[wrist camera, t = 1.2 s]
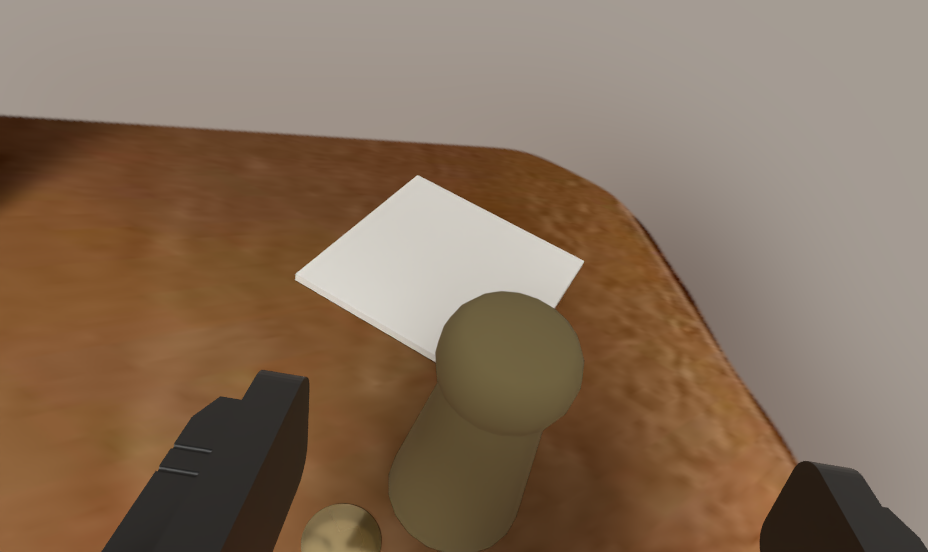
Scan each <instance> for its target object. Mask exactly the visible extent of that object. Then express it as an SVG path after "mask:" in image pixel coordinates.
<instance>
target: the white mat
mask: <svg viewBox="0 0 928 552" xmlns="http://www.w3.org/2000/svg"><path fill="white" fill-rule="evenodd" d="M583 263H584V261H583V260H581V259H579V258H577V257H575V256H573V255H571V254H569V253H568V252H566V251H564V250H562V249H560V248H558V247H556V246H554V245H552V244H550V243H548V242H546V241H544V240H542V239H540V238H538V237H536V236H535V235H533V234H531V233H529V232H527V231H525V230H523V229H521V228H519V227H517V226H515V225H513V224H511V223H509V222H507V221H505V220H504V219H502V218H500V217H498V216H496V215H494V214H492V213H490V212H488V211H486V210H484V209H482V208H480V207H478V206H476V205H474V204H473V203H471V202H469V201H467V200H465V199H463V198H461V197H459V196H457V195H455V194H453V193H451V192H449V191H447V190H445V189H443V188H442V187H440V186H438V185H436V184H434V183H432V182H430V181H428V180H426V179H424V178H422V177H420V176H418V175H417V176H416V177H415V178H413V179H412V180H411V181H410V182H408V183H407V184H406V185H405V186H404V187H402V188H401V189H400V190H399V191H397V192H396V193H395V194H394V195H392V196H391V197H390V198H389V199H387V200H386V201H385V202H384V203H383V204H381V205H380V206H379V207H378V208H376V209H375V210H374V211H373V212H371V213H370V214H369V215H368V216H366V217H365V218H364V219H363V220H362V221H360V222H359V223H358V224H357V225H355V226H354V227H353V228H352V229H350V230H349V231H348V232H347V233H345V234H344V235H343V236H342V237H341V238H339V239H338V240H337V241H336V242H334V243H333V244H332V245H331V246H329V247H328V248H327V249H326V250H324V251H323V252H322V253H321V254H320V255H318V256H317V257H316V258H315V259H313V260H312V261H311V262H310V263H308V264H307V265H306V266H305V267H303V268H302V269H301V270H300V271H299V272H297V273H296V279H295V280H296V281H298V282H300V283H301V284H303V285H305V286H306V287H308V288H310V289H312V290H313V291H315V292H317V293H318V294H320V295H322V296H323V297H325V298H327V299H329V300H330V301H332V302H334V303H335V304H337V305H339V306H340V307H342V308H344V309H346V310H347V311H349V312H351V313H352V314H354V315H356V316H357V317H359V318H361V319H363V320H364V321H366V322H368V323H369V324H371V325H373V326H375V327H376V328H378V329H380V330H381V331H383V332H385V333H386V334H388V335H390V336H392V337H393V338H395V339H397V340H398V341H400V342H402V343H403V344H405V345H407V346H409V347H410V348H412V349H414V350H415V351H417V352H419V353H421V354H422V355H424V356H426V357H427V358H429V359H431V360H432V361H434V362H436V357H435V352H436V348H437V344H438V341H439V338H440V335H441V333H442V330H443V327H444V325H445V323H446V322H447V321H448V319H449V318H450V317H451V316H452V315H453V314H454V313H455V311H456V310H457V309H458V308H459V307H460V306H461V305H462V304H464V303H466V302H468V301H470V300H472V299H475V298H477V297H479V296H481V295H483V294H485V293H492V292H498V291H507V292H517V293H522V294H525V295H528V296H531V297H534V298H537V299H539V300H541V301H543V302H544V303H546V304H548V305H550V306H551V307H553V308H556V306H557V305H558V303H559V301H560V300H561V298H562V297H563V295H564V294H565V292H566V290H567V289H568V287H569V286H570V284H571V283H572V281H573V279H574V278H575V276H576V275H577V273H578V272H579V270H580V268H581V267H582V265H583Z"/></svg>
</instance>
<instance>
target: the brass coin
mask: <svg viewBox="0 0 928 552" xmlns="http://www.w3.org/2000/svg"><path fill="white" fill-rule="evenodd" d="M380 548H381V535H380V530H379V527H378V525H377V523H376V521H375V520H374V518H373V517H372V516H371V515H370V514H369V513H368V512H366V511H365V510H364V509H362V508H360V507H358V506H355V505H351V504H335V505H331V506H328V507H326V508H324V509H322V510H320V511H319V512H318V513H316V514H315V515H314V516H313V517H312V518H311V519H310V520H309V522H308V523H307V525H306V527H305V529H304V531H303V534H302V539H301V552H380Z"/></svg>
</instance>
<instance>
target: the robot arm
mask: <svg viewBox="0 0 928 552" xmlns="http://www.w3.org/2000/svg"><path fill="white" fill-rule="evenodd" d="M308 413H309V379H308V378H307V377H303V376H297V375H291V374H285V373H279V372H273V371H267V370H261V371H259V373H258V374H257V375H256V377H255V378H254V380H253V382H252V383H251V385H250V387H249V389H248V390H247V392H246V394H245V395H244V397H243V399H242V400H239V399H233V398H227V397H221V396H220V397H219V398H218V399H216V400H215V401H213V402H212V403H211V404H209V405H208V406H206V407H205V408H204V409H202V410H201V411H199V412H198V413H197V414H195V415H194V416H193V417H192V418H191V419H190V421H189V422H188V424H187V425H186V427H185V428H184V430H183V431H182V433H181V434H180V436H179V437H178V439H177V440H176V442H175V443H174V447H173V449H170V450H169V452H168V453H167V455H166V456H165V458H164V459H163V461H162V462H161V464H160V466H159V470H158V471H155V473H154V474H153V476H152V477H151V479H150V480H149V482H148V483H147V485H146V486H145V488H144V489H143V491H142V492H141V494H140V495H139V497H138V498H137V500H136V501H135V503H134V504H133V506H132V507H131V509H130V510H129V512H128V513H127V514H126V516H125V517H124V519H123V520H122V522H121V523H120V525H119V526H118V528H117V529H116V531H115V532H114V534H113V535H112V537H111V538H110V540H109V541H108V543H107V544H106V546H105V547H104V549H103V550H102V552H273V549H274V547H275V544H276V542H277V539H278V537H279V534H280V532H281V529H282V526H283V524H284V521H285V519H286V516H287V514H288V511H289V509H290V506H291V504H292V501H293V499H294V496H295V493H296V491H297V488H298V486H299V483H300V480H301V477H302V473H303V469H304V465H305V460H306V453H307V441H308ZM760 552H928V550H927V548H926V547H925V545H924V544H923V542H922V541H921V539H920V538H919V537H918V536H917V535H916V534H915V533H914V532H913V531H912V530H911V529H910V528H908V527H907V526H906V525H905V524H904V523H903V522H902V521H901V520H900V519H899V518H898V517H897V516H896V515H895V514H894V513H893V512H892V511H891V510H890V509H889V508H885V507H882V506H881V504H880V503H879V501H878V500H877V498H876V496H875V495H874V493H873V492H872V490H871V489H870V487H869V486H868V484H867V483H866V481H865V479H864V478H863V476H862V475H861V474H860V473H859V472H858V471H856V470H854V469H851V468H846V467H839V466H834V465H827V464H821V463H815V462H809V461H803V462H800V463H799V464H798V465H797V466H796V467H795V468H794V470H793V471H792V473H791V475H790V477H789V478H788V480H787V482H786V484H785V485H784V487H783V489H782V491H781V493H780V494H779V496H778V498H777V500H776V501H775V503H774V505H773V507H772V508H771V510H770V512H769V514H768V516H767V517H766V519H765V521H764V523H763V526H762V529H761V533H760Z"/></svg>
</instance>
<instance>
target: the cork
mask: <svg viewBox="0 0 928 552" xmlns="http://www.w3.org/2000/svg"><path fill="white" fill-rule="evenodd" d="M435 357H436V373H437V382H438V383H437V384H436V386H435V388H434V390H433V391H432V393H431V395H430V397H429V398H428V400H427V402H426V404H425V405H424V407H423V409H422V411H421V412H420V414H419V416H418V418H417V419H416V421H415V423H414V425H413V426H412V428H411V430H410V432H409V433H408V435H407V437H406V439H405V440H404V442H403V444H402V446H401V447H400V449H399V451H398V453H397V455H396V456H395V459H394V462H393V464H392V467H391V470H390V473H389V497H390V500H391V503H392V506H393V509H394V512H395V515H396V517H397V518H398V519H399V521H400V522H401V523H402V525H403V526H404V527H405V529H406V530H407V531H408V533H409V534H411V535H412V536H413V537H415V538H416V539H417V540H419V541H420V542H422V543H423V544H424V545H426V546H427V547H430V548H433V549H436V550H439V551H442V552H478V551H481V550H484V549H486V548H489V547H491V546H493V545H494V544H495V543H496V542H497V541H499V540H500V539H501V538H502V537H504V536H505V535H506V534H507V532H508V530H509V529H510V527H511V525H512V523H513V522H514V520H515V518H516V516H517V512H518V509H519V506H520V503H521V499H522V496H523V493H524V490H525V486H526V483H527V480H528V477H529V474H530V470H531V467H532V464H533V461H534V457H535V454H536V451H537V448H538V444H539V441H540V438H541V435H542V431H543V430H544V429H546V428H547V427H548V426H550V425H551V424H553V423H554V422H555V421H557V420H558V419H559V418H561V417H562V416H563V415H565V414H566V412H567V411H568V409H569V407H570V406H571V404H572V402H573V401H574V399H575V397H576V396H577V394H578V392H579V391H580V389H581V383H582V377H583V368H584V358H583V354H582V350H581V347H580V343H579V340H578V337H577V334H576V333H575V331H574V330H573V328H572V327H571V325H570V324H569V322H568V321H567V320H566V319H565V318H564V317H563V316H562V315H561V314H560V313H559V312H558V311H557V310H556V309H555V308H553V307H551V306H550V305H548V304H546V303H544V302H543V301H541V300H539V299H537V298H534V297H531V296H528V295H525V294H522V293H517V292H507V291H498V292H492V293H485V294H483V295H481V296H479V297H477V298H475V299H472V300H470V301H468V302H466V303H464V304H462V305H461V306H460V307H459V308H458V309H457V310H456V311H455V313H454V314H453V315H452V316H451V317H450V318H449V319H448V321H447V322H446V323H445V325H444V327H443V330H442V333H441V335H440V338H439V341H438V344H437V348H436V352H435Z"/></svg>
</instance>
